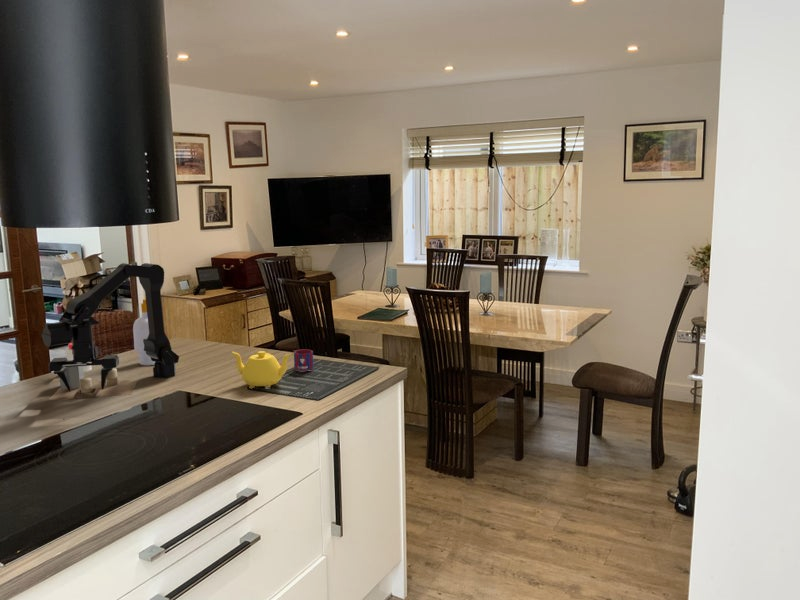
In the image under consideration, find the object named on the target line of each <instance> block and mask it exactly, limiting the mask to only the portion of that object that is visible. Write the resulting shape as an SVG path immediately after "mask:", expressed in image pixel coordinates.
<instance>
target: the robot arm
mask: <svg viewBox="0 0 800 600" xmlns="http://www.w3.org/2000/svg"><path fill="white" fill-rule="evenodd" d="M131 277H135V278H138V280H139V283H140V285H141V287H142V288H143V290H144V296H145V299H146V307H147V316H148V326H149V335H148V338H147V339H143V343H144V351H146V354H147V355H148V356H149V357H150V358H151V360H152V361H154V362H155V365H153V367H152V373H153V375H152V376H153V378H159V379H167V378H171V377H176V375H177V372H176V368H177V367H176V364H178V363H179V359H180V355H178V354H177V353H176V352H174V351H173V350H172V346H171V345H172V344H171V341H170V339H169V338H168V336H167V334H166V332H165V324H164V323H165V322H164V312H163V303H162V293H161V290H162V288H163V285H164V283H165V269H164V267H162V266H161V265H160V264H156V263H148V262H145V263H142V264H140V265H137V264H129V263H125V262H124V263H123V262H122V263H120V264H119V265H117V267H115V269H113V270H112V271H111V272H109V274H108V275H106V276H105V277H104V278H103V279H102V280H100V281H99V282H98V283H96V285H94V286H93V287H92V288H91V289H90V290H88V291H86V292H84V293H81V294H79V295H77V296H75V297H73V298H72V299H69V300H68V302H67V303H66V305H65V306H66V307H65V310H64V312H63V313H62V315H61V316H60V319H59V320H58V321H55V322H45V323H44V328H43V329H42V333H41V337H42V342H43V343H44V346H45V347H47V348H49V347H55V346H60V345H61V346H62V345H65V344H69V343H72V354H73V360H70V361H67V358H66V357H54V358H53V359H51V361H49V363H48V364H47V367H48V368H47V369H48V372H53V374H54V375H57V376H58V377H59V379H60V378H61V379H62V381H63V382H64V384H65V385H66V387H67V389H68V390H69V392H71V382H70V376H69V367H74V366H101V367H102V368H101V370H100V379H101V380H100V382H101V387H102V389H104V386H105V383H106V382H107V376H108V373H109V371H111V370H112V369H113V368H117V367H118V365H119V364H120V357H119V356H118V355H117V354H109V355H104V356H103V357H102V358H98V357H99V355H98V354H99V352H98V351H99V348H98V346H96V345H95V342H94V337H93V336H94V335H93V325H94V326H95V325H100V321H98V320H97V319H95V318H94V317H93V315H94V314H95V313H96V312H97V311H98V309H99V307H100V305H101V303H102V302H103V301H104V300H105V299H106V298H107V297H108V296H109V295H111V294H112V293H113V292H114V291H115V290H116V289H118V288H119V287H120V286H121V285H122V284H123V283H125V282H126V281H127V280H128V279H129V278H131ZM88 362H91V363H88Z"/></svg>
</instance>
